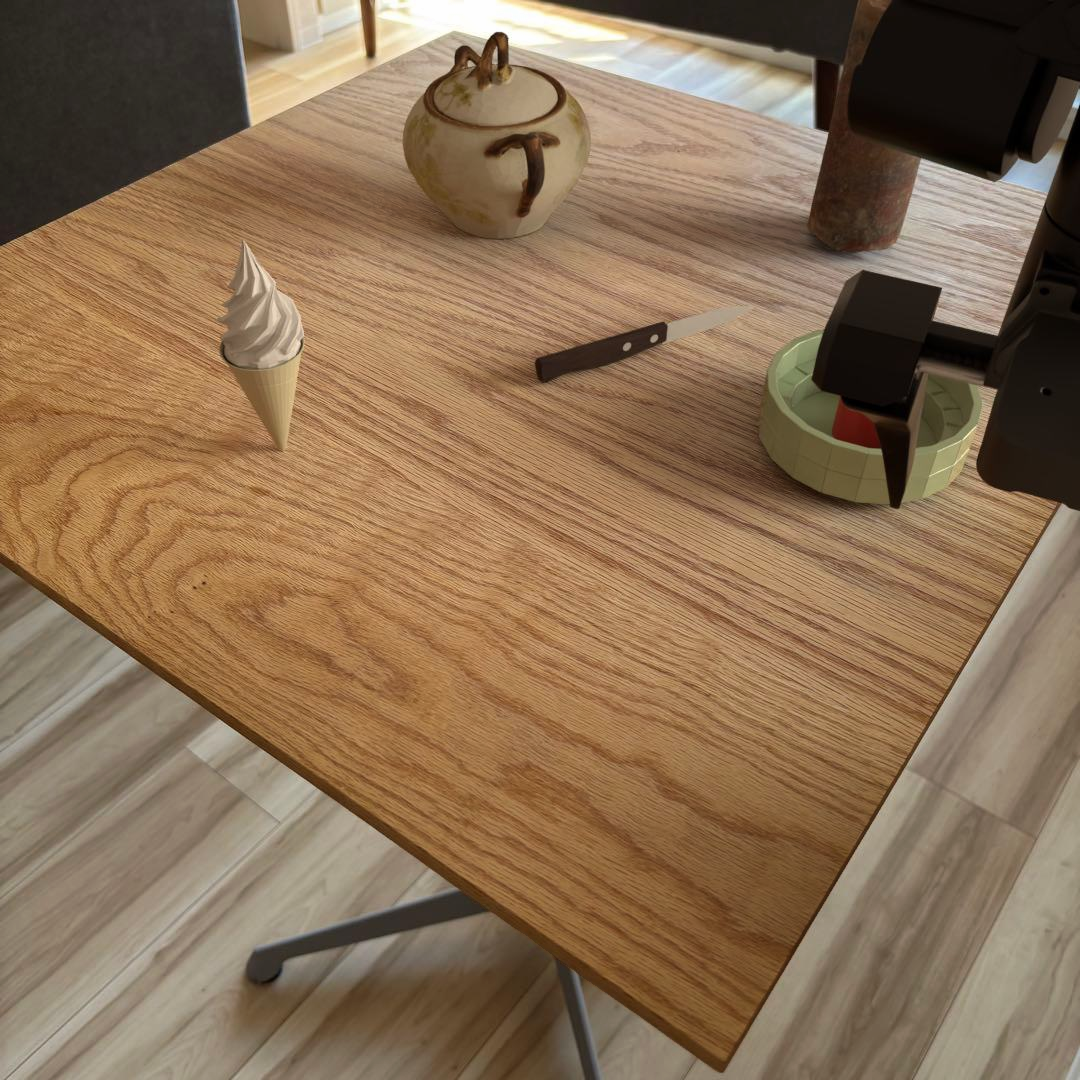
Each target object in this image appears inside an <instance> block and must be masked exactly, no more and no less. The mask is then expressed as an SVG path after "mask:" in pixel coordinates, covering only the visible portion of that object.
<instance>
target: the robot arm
mask: <svg viewBox="0 0 1080 1080" xmlns="http://www.w3.org/2000/svg"><path fill="white" fill-rule="evenodd" d="M1079 89H1080V0H892V1H891V3H890V4H889V6H888V7H887V9H886V10H885V12H884V13H883V15H882V17H881V19H880V21H879V23H878V25H877V27H876V28H875V30H874V33H873V35H872V37H871V40H870V42H869V44H868V47H867V49H866V52H865V55H864V58H863V61H861V62H860V63H858V64H857V66H856V67H855V69H854V72H853V76H852V80H851V85H850V90H849V97H848V104H847V120H848V125H849V130H850V131H851V133H852V134H853V136H855V137H858V138H861V139H864V140H867V141H870V142H873V143H876V144H879V145H882V146H885V147H888V148H891V149H894V150H897V151H900V152H903V153H907V154H910V155H913V156H916V157H919V158H921V160H925V161H927V162H931V163H934V164H938V165H940V166H943V167H946V168H950V169H952V170H955V171H958V172H962V173H964V174H968V175H971V176H974V177H977V178H980V179H983V180H986V181H989V182H991V183H996V182H998V181H1000V180H1002V179H1003V178H1004V177H1005V176H1006V175H1007V174H1008V173H1009V172H1010V171H1011V170H1012V168H1013V167H1014V166H1015V164H1016V163H1017V162H1018V160H1021V161H1023V162H1027V163H1029V164H1034V165H1035V164H1038V163H1040V162H1041V161H1042V160H1043V159H1044V158H1045V156H1047V154H1048V153H1049V152H1050V150H1051V149H1052V147H1053V146H1054V144H1055V142H1056V140H1057V139H1058V137H1059V135H1060V133H1061V131H1062V130H1063V128H1064V125H1065V124H1066V122H1067V119H1068V117H1069V115H1070V113H1071V111H1072V108H1073V105H1074V103H1075V100H1076V98H1077V95H1078V93H1079ZM942 290H943V287H941V286H937V285H932V284H927V283H924V282H923V283H922V282H919V281H915V280H910V279H906V278H902V277H897V276H893V275H888V274H883V273H879V272H874V271H870V270H866V269H861V270H860V271H858V272H857V273H856V274H854V275H853V276H851V277H850V278H848V279H847V280H845V282H844V284H843V285H842V288H841V291H840V292H839V296H838V298H837V299H836V302H835V304H834V306H833V308H832V311H831V313H830V315H829V318H828V320H827V322H826V324H825V326H824V328H823V329H824V332H823V335H822V338H821V341H820V344H819V348H818V352H817V356H816V361H815V365H814V370H813V375H812V379H811V380H812V381H813V382H814V383H815V385H816V386H817V387H818V388H819V389H820V390H821V391H824V392H828V393H832V394H836V395H839V396H841V402H842V404H843V405H844V407H846V408H847V409H849V410H852V411H856V412H859V413H861V414H863V415H865V416H866V417H867V418H869V419H870V420H871V421H872V422H873V424H874V427H875V430H876V433H877V436H878V439H879V442H880V445H881V450H882V456H883V462H884V469H885V475H886V482H887V488H888V495H889V502H890V505H889V507H890V508H892V509H895V510H900V509H901V505H902V503H901V502H902V499H903V496H904V493H905V490H906V486H907V483H908V480H909V477H910V473H911V470H912V466H913V461H914V455H915V449H916V443H917V437H918V431H919V425H920V420H921V414H922V408H923V402H924V396H925V390H926V384H927V378H928V373H929V374H933V375H937V376H941V377H945V378H949V379H953V380H957V381H961V382H965V383H970V384H974V385H978V387H982V388H986V389H991V390H995V391H996V393H995V396H994V399H993V401H992V406H991V408H990V412H989V416H988V420H987V424H986V425H985V426H986V427H985V430H984V434H983V437H982V440H981V444H980V447H979V450H978V454H977V456H976V461H975V466H976V472H977V475H978V476H979V477H980V479H981V480H982V482H984V483H985V484H986V485H988V486H989V487H991V488H994V489H996V490H1000V491H1003V492H1007V493H1014V492H1017V493H1021V494H1026V495H1030V496H1032V497H1037V498H1040V499H1043V500H1048V501H1052V502H1056V503H1060V504H1063V505H1064V506H1066V508H1068V509H1070V510H1074V511H1077V512H1080V103H1079V104H1078V107H1077V110H1076V113H1075V116H1074V119H1073V121H1072V125H1071V127H1070V130H1069V133H1068V136H1067V138H1066V141H1065V144H1064V147H1063V150H1062V152H1061V155H1060V158H1059V161H1058V164H1057V166H1056V169H1055V173H1054V175H1053V178H1052V181H1051V183H1050V186H1049V190H1048V192H1047V195H1046V198H1045V201H1044V203H1043V206H1042V209H1041V211H1040V214H1039V216H1038V221H1037V223H1036V225H1035V229H1034V232H1033V234H1032V237H1031V240H1030V243H1029V246H1028V249H1027V251H1026V253H1025V257H1024V259H1023V263H1022V266H1021V269H1020V271H1019V275H1018V277H1017V280H1016V283H1015V285H1014V288H1013V291H1012V294H1011V297H1010V299H1009V301H1008V305H1007V308H1006V311H1005V313H1004V316H1003V320H1002V322H1001V325H1000V328H999V330H998V334H994V333H993V334H992V333H989V332H984V331H979V330H975V329H971V328H967V327H962V326H957V325H953V324H949V323H945V322H941V321H936V320H934V317H935V314H936V311H937V307H938V304H939V301H940V299H941V295H942Z"/></svg>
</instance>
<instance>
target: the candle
mask: <svg viewBox="0 0 1080 1080" xmlns="http://www.w3.org/2000/svg"><path fill="white" fill-rule="evenodd" d="M891 1H892V0H857V4H856V9H855V13H854V17H853V22H852V25H851V30H850V33H849V38H848V43H847V48H846V51H845V57H844V61H843V66H842V71H841V75H840V78H839V84H838V88H837V93H836V97H835V101H834V107H833V110H832V116H831V120H830V124H829V128H828V133H827V138H826V142H825V146H824V150H823V155H822V159H821V163H820V167H819V172H818V177H817V180H816V183H815V184H816V185H815V189H814V192H813V197H812V202H811V205H810V211H809V215H808V220H807V224H806V226H807V229H808V232H809V233H810V234H811V235H815V236H816V238H818V239H819V240H820V241H821V242H822V243H824V244H825V246H827V247H830V248H831V249H832V250H833V251H834V252H837V253H839V254H840V253H843V252H844V253H846V254H847V253H849V254H856V253H860V252H872V251H873V252H875V251H884V250H888V249H889V248H891V247H892V246H893V245H894V244H896V243H897V242H898V239H899V238H900V235H901V232H902V229H903V225H904V222H905V219H906V215H907V213H908V209H909V205H910V203H911V198H912V195H913V192H914V187H915V184H916V179H917V175H918V172H919V168H920V164H921V160H922V158H919V157H916V156H913V155H910V154H907V153H903V152H900V151H897V150H894V149H891V148H888V147H885V146H882V145H879V144H876V143H873V142H870V141H867V140H864V139H861V138H858V137H855V136H853V134H852V133H851V131H850V130H849V125H848V120H847V104H848V97H849V90H850V85H851V80H852V76H853V72H854V69H855V67H856V66H857V64H858V63H860V62H861V61H863V58H864V55H865V52H866V49H867V47H868V44H869V42H870V40H871V37H872V35H873V33H874V30H875V28H876V27H877V25H878V23H879V21H880V19H881V17H882V15H883V13H884V12H885V10H886V9H887V7H888V6H889V4H890V3H891Z"/></svg>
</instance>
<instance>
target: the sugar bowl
mask: <svg viewBox="0 0 1080 1080" xmlns="http://www.w3.org/2000/svg"><path fill="white" fill-rule="evenodd" d="M509 39H510V38H509V35H507V34H506V33H505V32H504V31H495V32H493V34H491V35H490V36H489V38H488V39H487V40H486V42H485V44H484V47H483V50H482V53H481V55H479V54H478V53H477V52H476V51H475V50H474V49H472V47H470V46H469V45H467V44H465V45H464V44H463V45H460V46H459V47H457V49H455V52H454V56H453V57H454V59H453V61H454V64H453V66H452V67H451V68H450V70H449V71H448V72H447V73H445V74H443V75H441V76H440V77H438V78H436V79H435V80H433V81H432V82H431V83H430V84H429V85H428V86H427V87H426V89H425V91H424V93H423V94H421V96H420V97H419V98H418V99H417V101H415V103H414V104H413V105H412V107H411V109H410V112H409V113H408V115H407V117H406V119H405V122H404V127H403V131H402V149H403V156H404V159H405V162H406V165H407V169H408V170H409V172H410V174H411V175H412V177H413V179H414V180H415V182H416V183H417V186H419V188H421V190H422V191H423V192H424V193H425V195H426V196H427V197H428V198H429V199H430V200H431V201H432V202H433V203H434V205H435V206H437V208H438V209H440V210H441V212H443V213H444V214H445V216H446V217H447V218H448V219H449V220H450V222H451V223H452V224H453V225H454V226H456V228H458V229H459V230H461V231H462V232H465V233H466V234H468V235H472V236H476V237H479V238H486V239H492V240H493V239H494V240H499V239H513V238H519V237H523V236H527V235H530V234H532V233H534V232H536V231H538V230H540V229H541V228H542V227H543V226H544V225H545V224H546V222H547V221H548V219H549V218H550V217H551V215H552V214H553V212H554V211H556V209H557V208H558V207H559V206H560V205H561V204H562V203H563V201H564V200H565V199H566V198H567V197H568V195H569V194H570V193H571V191H573V189H574V187H575V186H576V185H577V183H578V182H579V180H580V178H581V177H582V175H583V172H584V170H585V168H586V166H587V164H588V162H589V161H588V160H589V156H590V153H591V147H592V142H591V141H592V139H591V130H590V126H589V121H588V118H587V116H586V114H585V112H584V109H583V108H582V106H581V104H580V103H579V102H578V100H577V99H576V98H575V97H574V96H573V95H572V94H571V92H569V91H568V90H567V89H566V88H565V87H564V86H563V84H562V83H561V82H560V81H559V80H558V79H556V78H555V77H553V76H552V75H550V74H548V73H547V72H544V71H542V70H539V69H536V68H533V67H529V66H524V65H518V64H510V57H509V55H510V53H509V52H510V51H509V47H510V46H509ZM495 51H496V53H497V54H496V56H497V61H496V62H497V63H496V64H494V63H493V58H494V53H495ZM469 62H471V63H472V64H473V66H469Z"/></svg>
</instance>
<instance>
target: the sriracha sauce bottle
mask: <svg viewBox="0 0 1080 1080" xmlns="http://www.w3.org/2000/svg"><path fill="white" fill-rule="evenodd" d="M832 436H833V438H835V439H837V440H840V441H844V442H848V443H851V444H855V445H859V446H863V447H866V448H875V449H881V445H880V442H879V439H878V436H877V433H876V430H875V427H874V424H873V422H872V421H871V420H870V419H869V418H867V417H866V416H865V415H863V414H861V413H859V412H856V411H852V410H849V409H847V408H846V407H844V405H843V404H842V402H841V396H840V398H839V403H838V407H837V411H836V415H835V419H834V423H833V427H832Z"/></svg>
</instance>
